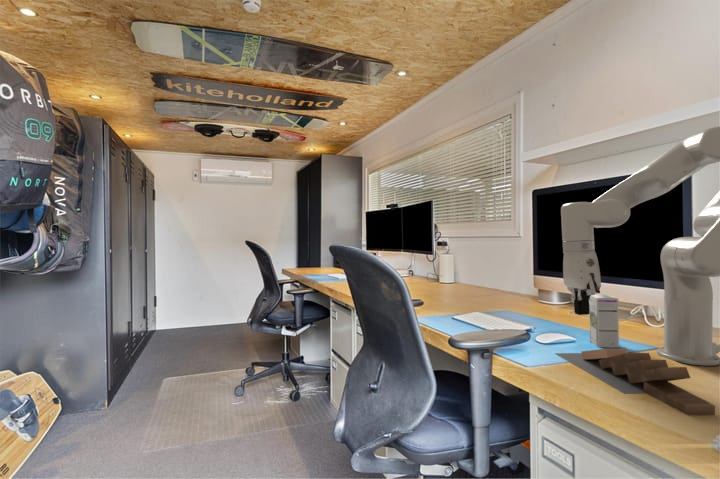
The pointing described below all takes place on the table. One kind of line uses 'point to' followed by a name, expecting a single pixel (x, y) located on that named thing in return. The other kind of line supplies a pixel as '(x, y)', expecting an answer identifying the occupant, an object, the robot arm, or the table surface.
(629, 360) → the domino
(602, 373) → the mat
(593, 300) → the syrup box
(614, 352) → the domino
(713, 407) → the domino
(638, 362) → the domino
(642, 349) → the table surface
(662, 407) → the table surface
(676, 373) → the domino
